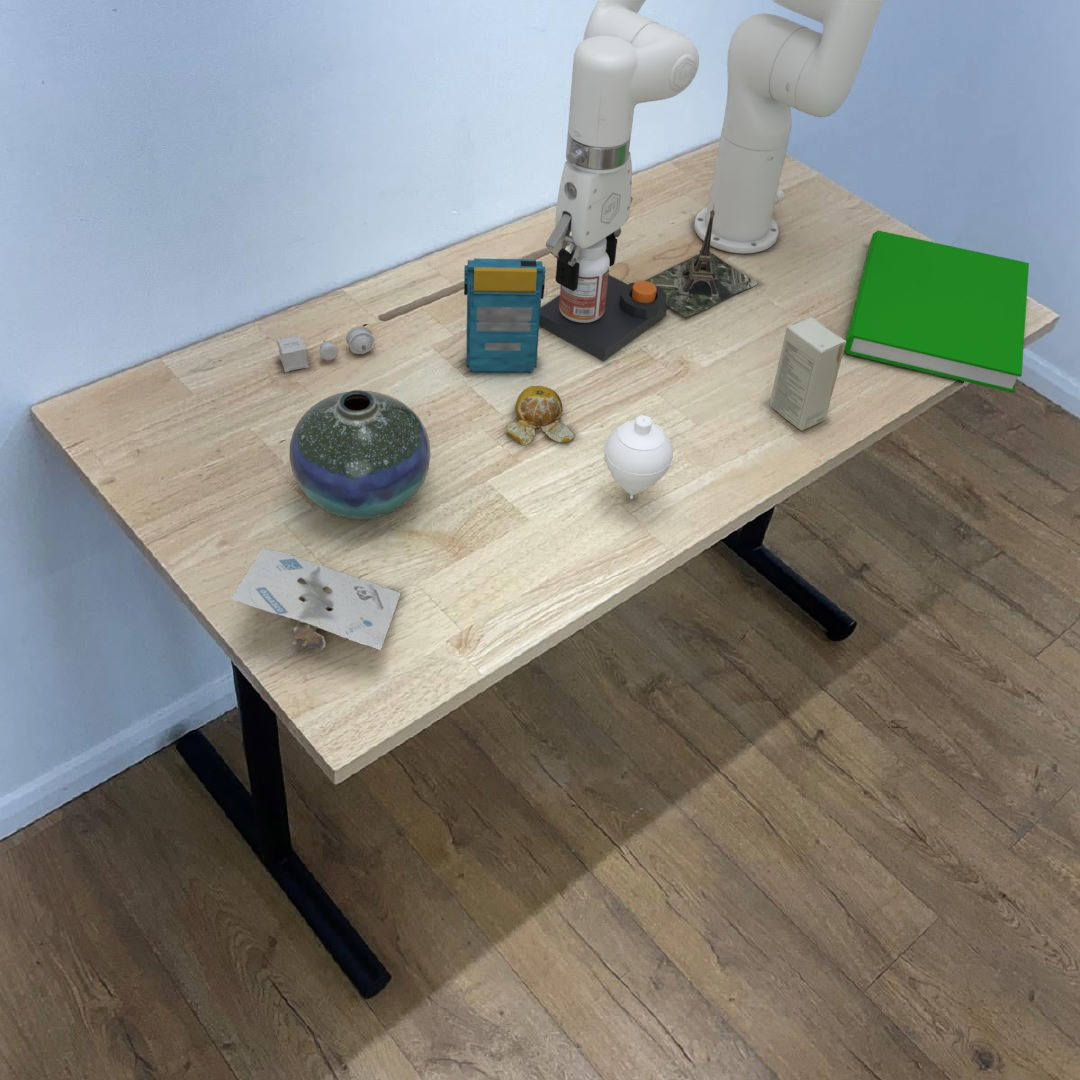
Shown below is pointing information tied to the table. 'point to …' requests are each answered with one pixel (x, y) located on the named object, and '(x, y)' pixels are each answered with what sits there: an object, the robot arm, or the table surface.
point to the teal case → (503, 314)
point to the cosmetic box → (806, 372)
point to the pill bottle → (587, 285)
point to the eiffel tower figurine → (700, 280)
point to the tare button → (644, 292)
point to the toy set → (322, 348)
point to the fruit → (538, 416)
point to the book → (941, 311)
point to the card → (318, 599)
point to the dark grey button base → (607, 320)
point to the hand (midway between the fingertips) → (585, 272)
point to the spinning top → (638, 454)
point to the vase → (360, 454)
